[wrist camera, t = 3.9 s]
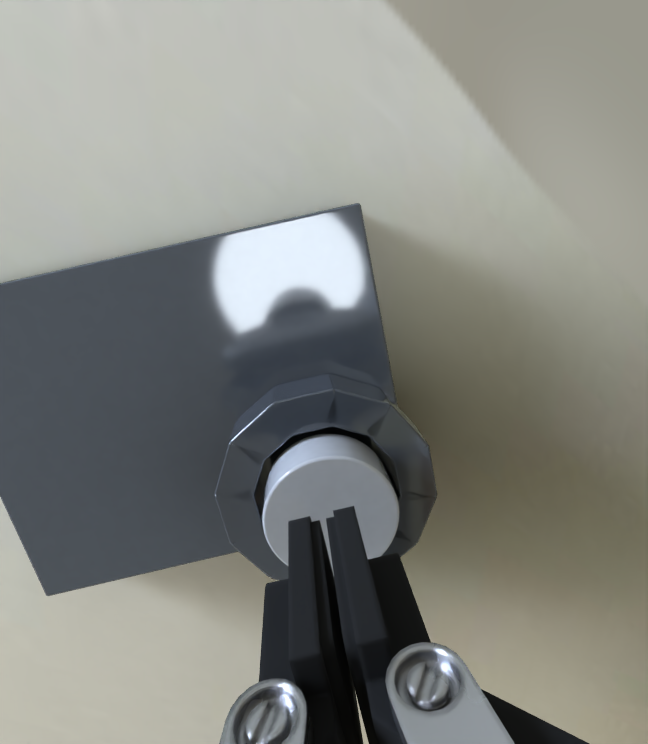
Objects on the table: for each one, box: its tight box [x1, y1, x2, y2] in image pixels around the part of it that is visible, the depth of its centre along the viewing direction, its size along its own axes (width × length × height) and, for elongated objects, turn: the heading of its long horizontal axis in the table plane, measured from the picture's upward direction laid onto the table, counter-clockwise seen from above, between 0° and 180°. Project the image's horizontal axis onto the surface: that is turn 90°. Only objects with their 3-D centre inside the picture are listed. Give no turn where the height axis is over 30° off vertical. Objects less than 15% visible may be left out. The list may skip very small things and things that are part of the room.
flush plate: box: [0, 203, 437, 596], centre depth 16 cm, size 14×12×4 cm
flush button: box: [262, 434, 399, 575], centre depth 14 cm, size 4×4×2 cm
